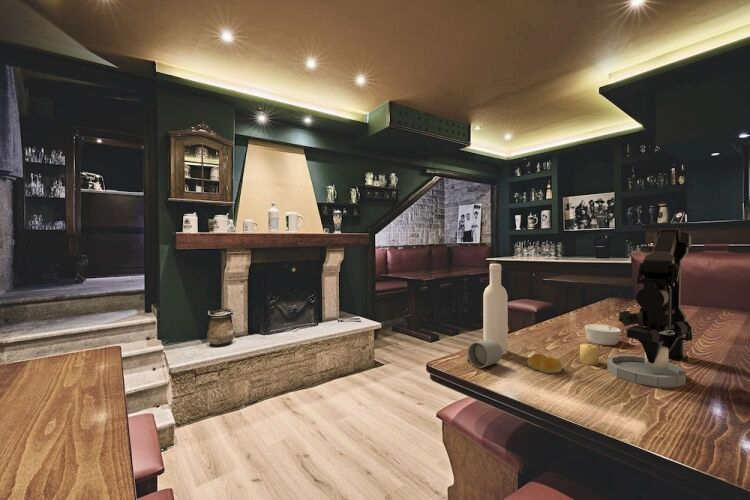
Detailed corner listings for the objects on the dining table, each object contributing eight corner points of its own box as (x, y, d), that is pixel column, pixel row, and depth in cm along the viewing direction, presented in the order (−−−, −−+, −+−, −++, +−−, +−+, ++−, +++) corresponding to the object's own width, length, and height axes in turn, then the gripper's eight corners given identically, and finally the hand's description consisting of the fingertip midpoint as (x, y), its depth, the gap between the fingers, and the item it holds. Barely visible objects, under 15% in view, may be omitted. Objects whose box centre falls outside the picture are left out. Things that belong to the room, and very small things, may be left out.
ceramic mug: (504, 365, 106) (503, 340, 106) (488, 371, 102) (487, 345, 101) (475, 356, 115) (475, 333, 115) (459, 361, 110) (459, 337, 110)
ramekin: (628, 346, 123) (628, 331, 123) (596, 346, 123) (596, 331, 123) (607, 337, 134) (607, 323, 134) (578, 337, 134) (578, 324, 134)
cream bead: (650, 360, 99) (651, 343, 98) (672, 366, 94) (672, 348, 94) (640, 363, 96) (641, 345, 96) (662, 369, 92) (662, 350, 92)
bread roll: (555, 376, 98) (555, 362, 97) (524, 367, 104) (524, 354, 104) (567, 369, 103) (567, 356, 103) (536, 361, 110) (536, 348, 110)
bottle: (500, 357, 113) (500, 265, 112) (478, 351, 119) (478, 264, 118) (512, 351, 119) (512, 264, 118) (491, 346, 125) (491, 262, 124)
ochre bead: (586, 358, 111) (586, 342, 111) (602, 363, 107) (602, 347, 107) (576, 361, 109) (576, 345, 109) (592, 366, 105) (592, 349, 104)
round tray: (628, 359, 110) (628, 351, 109) (697, 379, 94) (697, 369, 94) (594, 369, 102) (594, 360, 102) (663, 392, 87) (663, 382, 86)
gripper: (643, 297, 106) (642, 347, 107) (606, 303, 98) (605, 357, 98) (688, 303, 96) (687, 359, 97) (651, 310, 88) (650, 371, 88)
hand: (656, 361), depth 95 cm, fingers closed on cream bead, 5 cm apart
